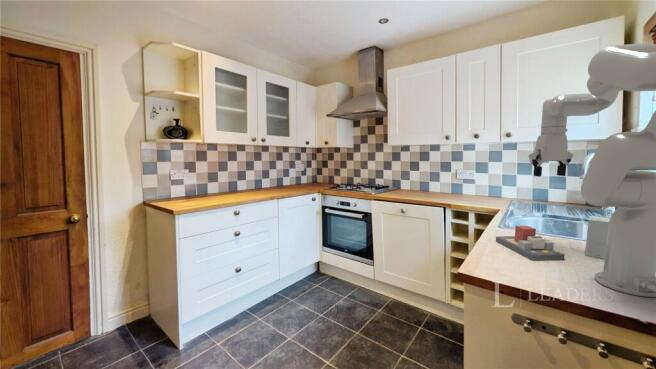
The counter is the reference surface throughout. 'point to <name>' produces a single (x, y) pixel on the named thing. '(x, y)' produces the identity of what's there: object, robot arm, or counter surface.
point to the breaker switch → (536, 242)
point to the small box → (597, 236)
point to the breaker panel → (528, 252)
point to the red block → (524, 232)
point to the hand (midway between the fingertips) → (549, 175)
